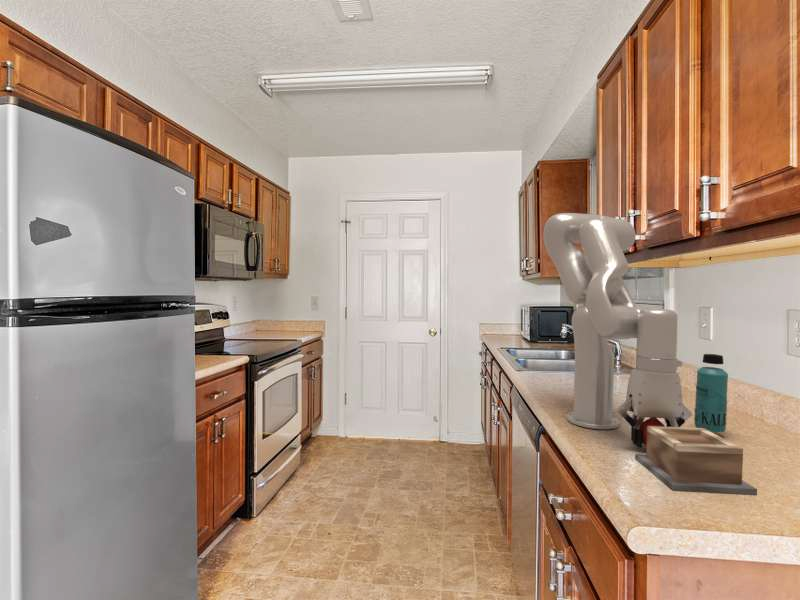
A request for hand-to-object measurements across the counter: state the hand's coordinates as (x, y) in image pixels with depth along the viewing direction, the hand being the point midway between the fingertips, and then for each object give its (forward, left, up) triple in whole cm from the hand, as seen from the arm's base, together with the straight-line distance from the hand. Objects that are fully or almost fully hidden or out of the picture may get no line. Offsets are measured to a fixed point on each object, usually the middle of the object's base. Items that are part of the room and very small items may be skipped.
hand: (652, 445), depth 93 cm
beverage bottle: (-13, +20, -1) cm, 24 cm away
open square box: (+12, +1, -1) cm, 12 cm away
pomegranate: (0, 0, -1) cm, 1 cm away
